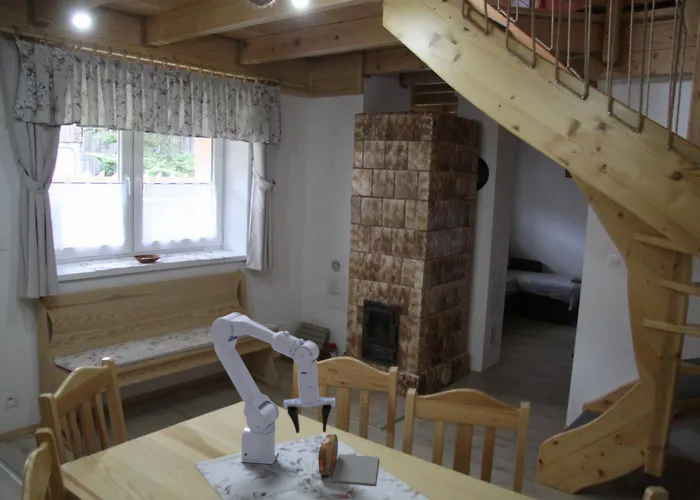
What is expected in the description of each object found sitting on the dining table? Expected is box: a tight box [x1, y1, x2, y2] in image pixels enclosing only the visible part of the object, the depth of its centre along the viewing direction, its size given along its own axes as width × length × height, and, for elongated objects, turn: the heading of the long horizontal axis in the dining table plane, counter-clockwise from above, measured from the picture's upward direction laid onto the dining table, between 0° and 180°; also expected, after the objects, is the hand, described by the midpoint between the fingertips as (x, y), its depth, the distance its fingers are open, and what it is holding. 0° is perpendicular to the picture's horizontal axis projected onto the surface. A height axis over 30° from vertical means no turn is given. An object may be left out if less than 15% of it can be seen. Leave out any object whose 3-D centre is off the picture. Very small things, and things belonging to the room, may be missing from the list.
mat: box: [330, 453, 380, 486], centre depth 171 cm, size 12×16×1 cm
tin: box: [317, 433, 339, 476], centre depth 171 cm, size 15×3×8 cm, turn 169°
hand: (311, 431), depth 171 cm, fingers open, 7 cm apart
